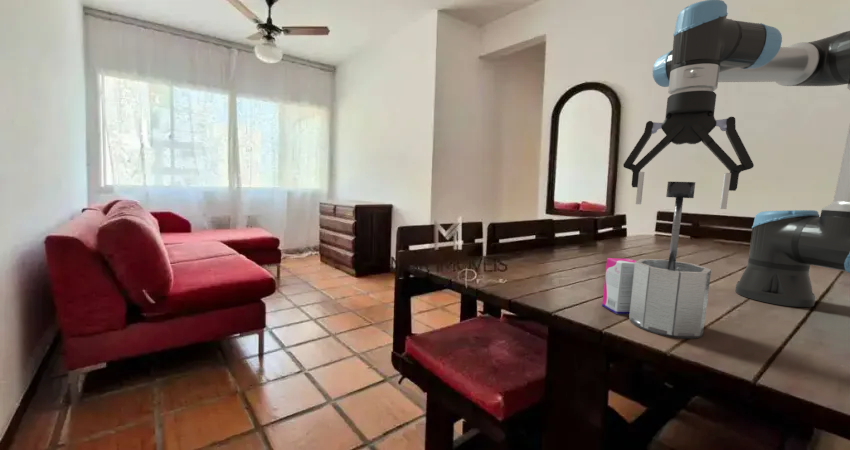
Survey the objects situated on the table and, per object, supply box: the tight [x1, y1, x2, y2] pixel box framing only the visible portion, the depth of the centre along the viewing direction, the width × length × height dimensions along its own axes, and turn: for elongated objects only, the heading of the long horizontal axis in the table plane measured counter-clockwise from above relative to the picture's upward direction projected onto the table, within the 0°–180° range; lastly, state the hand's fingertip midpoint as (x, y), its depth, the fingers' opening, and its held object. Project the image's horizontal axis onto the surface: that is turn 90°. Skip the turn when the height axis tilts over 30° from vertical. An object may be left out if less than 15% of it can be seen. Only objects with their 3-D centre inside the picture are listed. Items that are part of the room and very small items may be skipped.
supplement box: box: [601, 257, 636, 315], centre depth 83 cm, size 6×6×12 cm
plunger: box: [665, 181, 696, 271], centre depth 73 cm, size 8×8×20 cm
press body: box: [628, 258, 712, 340], centre depth 75 cm, size 12×15×12 cm
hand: (678, 206), depth 72 cm, fingers open, 13 cm apart
